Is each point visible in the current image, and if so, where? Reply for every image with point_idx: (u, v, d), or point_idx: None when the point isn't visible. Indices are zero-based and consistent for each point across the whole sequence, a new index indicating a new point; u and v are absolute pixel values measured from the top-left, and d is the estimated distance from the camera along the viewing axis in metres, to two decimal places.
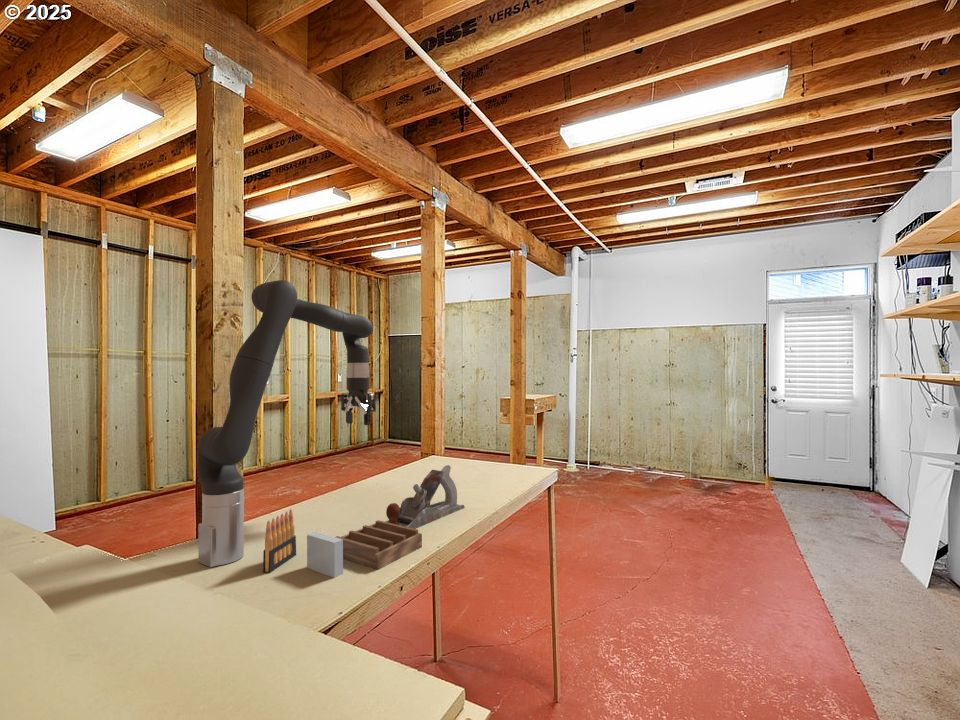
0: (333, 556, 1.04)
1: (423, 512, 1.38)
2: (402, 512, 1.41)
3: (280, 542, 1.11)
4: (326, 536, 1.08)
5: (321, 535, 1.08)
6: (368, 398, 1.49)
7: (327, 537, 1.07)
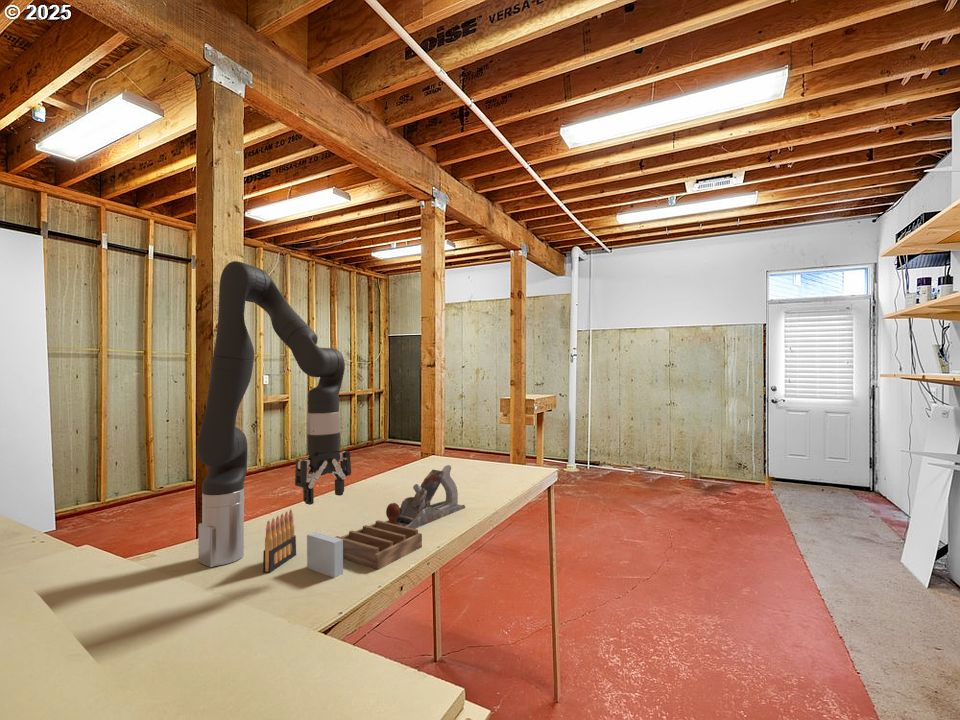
0: (333, 556, 1.04)
1: (423, 512, 1.38)
2: (402, 512, 1.41)
3: (280, 542, 1.11)
4: (326, 536, 1.08)
5: (321, 535, 1.08)
6: (348, 457, 1.12)
7: (327, 537, 1.07)
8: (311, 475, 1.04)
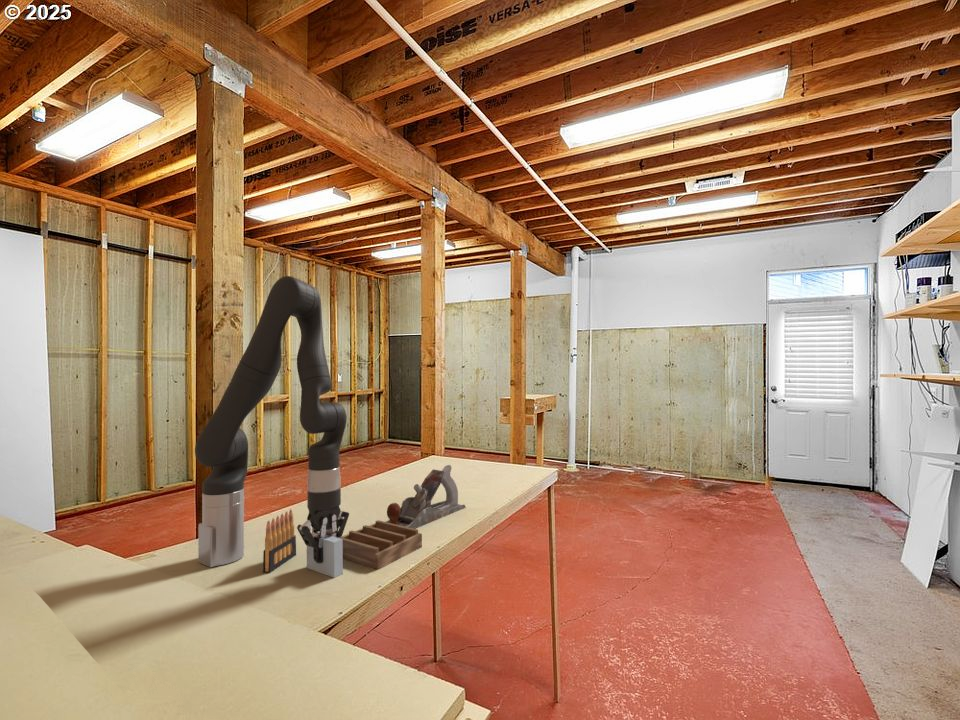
0: (333, 556, 1.04)
1: (424, 512, 1.38)
2: (403, 512, 1.41)
3: (280, 542, 1.11)
4: (326, 536, 1.08)
5: None
6: (345, 518, 1.11)
7: (326, 536, 1.07)
8: (317, 535, 1.05)
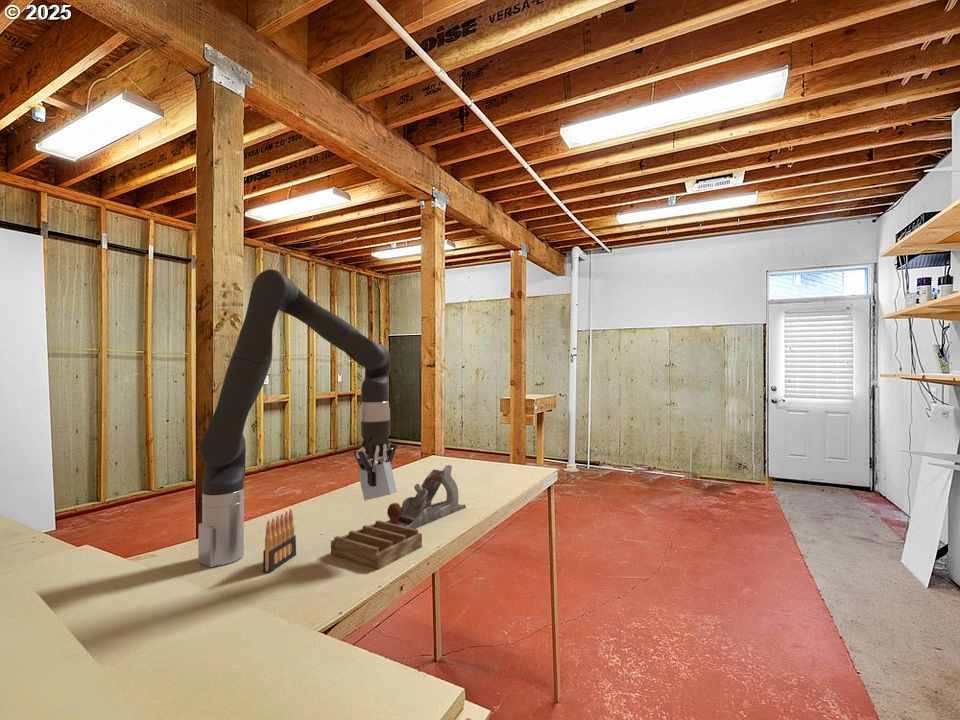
0: (385, 475, 1.15)
1: (424, 512, 1.38)
2: (403, 512, 1.41)
3: (280, 542, 1.11)
4: None
5: None
6: (394, 449, 1.23)
7: None
8: (370, 461, 1.17)
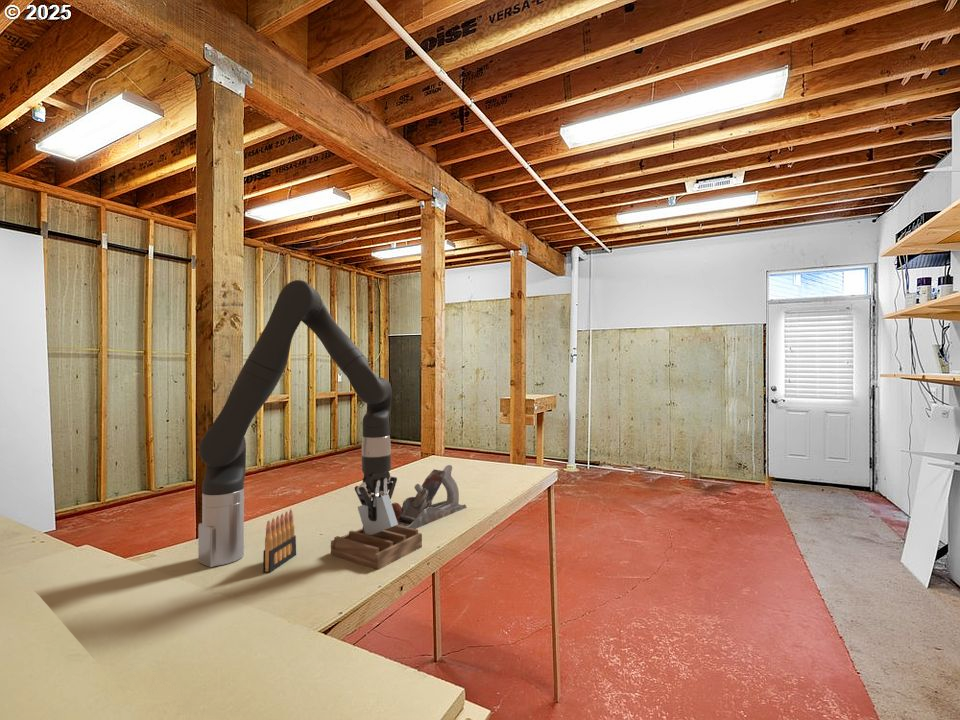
0: (384, 508, 1.16)
1: (424, 512, 1.38)
2: (404, 512, 1.41)
3: (280, 542, 1.11)
4: None
5: None
6: (394, 482, 1.23)
7: None
8: (371, 496, 1.17)
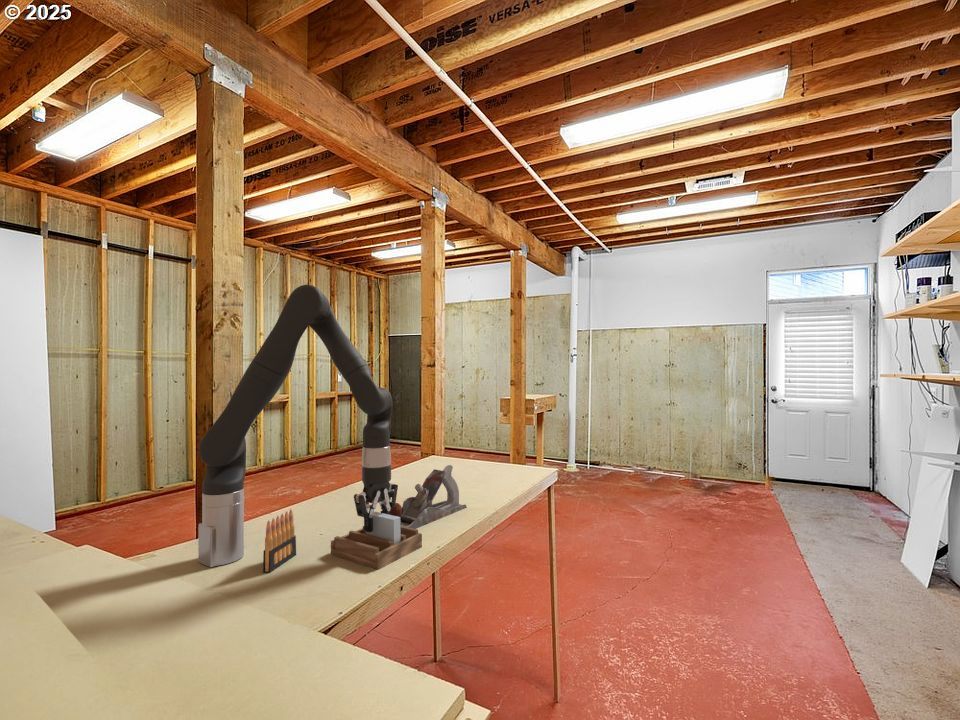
0: (392, 532, 1.14)
1: (425, 512, 1.38)
2: (404, 512, 1.42)
3: (280, 542, 1.11)
4: (384, 514, 1.18)
5: (379, 514, 1.19)
6: (395, 490, 1.23)
7: (385, 515, 1.18)
8: (369, 506, 1.16)
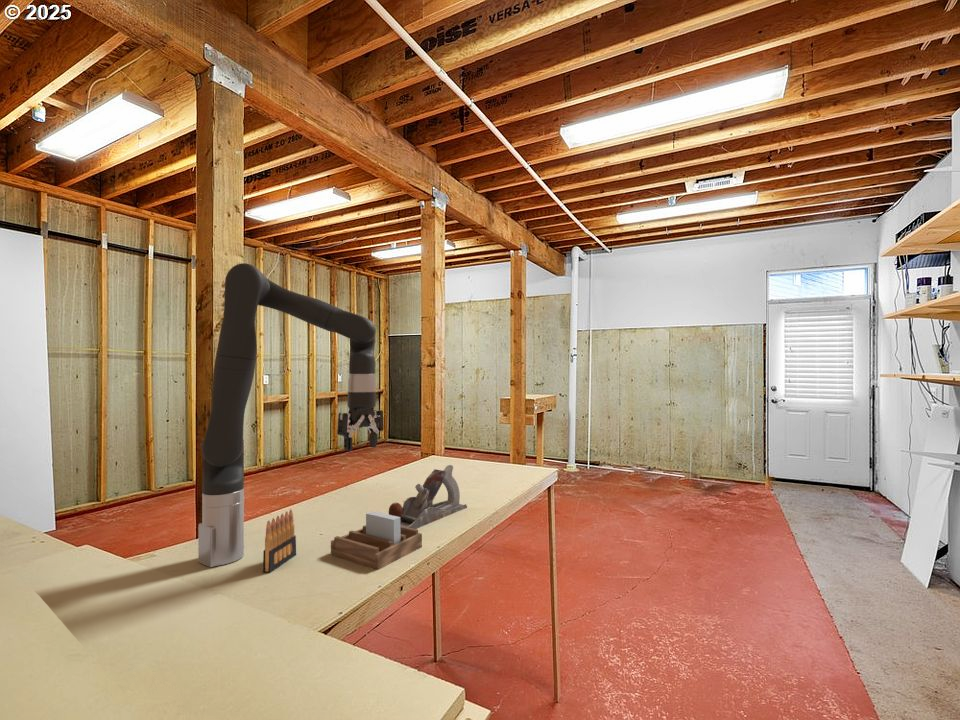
0: (392, 532, 1.14)
1: (425, 512, 1.38)
2: (404, 512, 1.42)
3: (280, 542, 1.11)
4: (384, 514, 1.18)
5: (379, 514, 1.19)
6: (381, 415, 1.30)
7: (385, 515, 1.18)
8: (351, 426, 1.22)
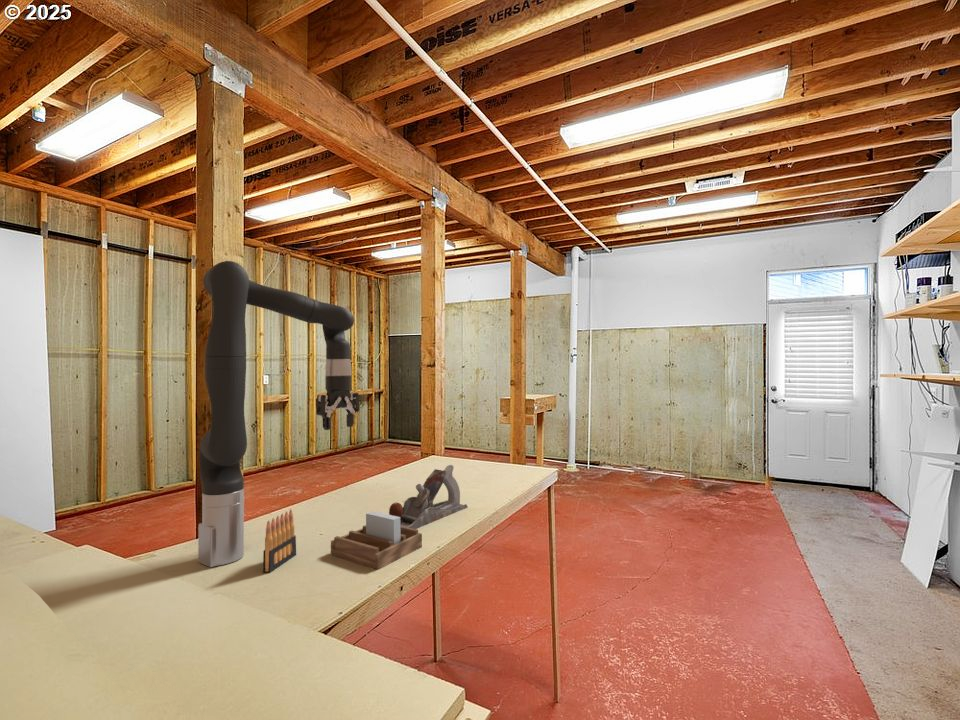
0: (392, 532, 1.14)
1: (426, 512, 1.38)
2: (405, 511, 1.42)
3: (280, 542, 1.11)
4: (384, 514, 1.18)
5: (379, 514, 1.19)
6: (357, 397, 1.41)
7: (385, 515, 1.18)
8: (328, 407, 1.33)
